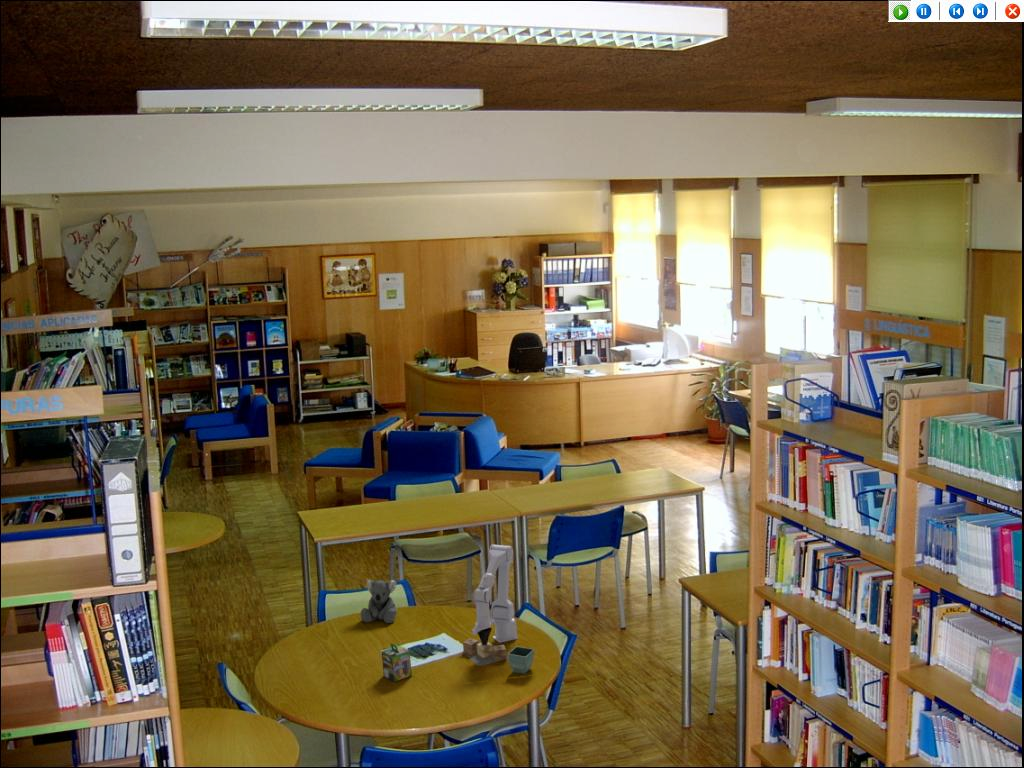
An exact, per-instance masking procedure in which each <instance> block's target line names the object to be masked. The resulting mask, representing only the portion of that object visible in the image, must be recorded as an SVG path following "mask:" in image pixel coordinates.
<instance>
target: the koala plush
mask: <svg viewBox="0 0 1024 768" xmlns="http://www.w3.org/2000/svg"><path fill="white" fill-rule="evenodd" d="M366 587H367V591H369V593H370V598H369V601H368V605H367V607H362V608H361V610H360V620H361V621H362V622H364V623H372V622H373V621H375V620H377V619H379V620H383V622H384V623H386V624H392V623H393V622H394V621H395V620H396V617H397V608H396V604H395V602H394V599H393V598H392V597H391V596H390V594H392V593H394V592H395V590H396V588H397V582H396V581H395V580H393V579H392V580H388V581H384V580H380V579H379V580H376V581H375V580H372V579H369V578H368V579H367V580H366Z"/></svg>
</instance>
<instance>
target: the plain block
mask: <svg viewBox="0 0 1024 768" xmlns="http://www.w3.org/2000/svg"><path fill="white" fill-rule="evenodd" d="M492 645H493V644H492V643H490V642H489V641H488V643H487V645H483V644H482V643H481V642H479V643H478V644H477V655H479V656H481V657H483V658H485V657H488V656H492V655H493V646H492Z"/></svg>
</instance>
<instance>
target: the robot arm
mask: <svg viewBox="0 0 1024 768" xmlns="http://www.w3.org/2000/svg"><path fill="white" fill-rule="evenodd" d="M488 556H489V562H488V566H487V569H486V572H485V573H484V574H483V575H482V576H481V578H480V582H479V584H478V587H477V589H475V590H474V592H473V596H472V599H473V601H474V606H475V609H476V622H475V626H474V628H473V629H471V634H472V635H475V636H476V635H478V637H479V639H480V640H479V641H480V643H482V644H483V645H487V643H488V642H489V639H490V635H491V632H492V627H491V626H492V625H494V629H495V630H494V632H495V635H493V636H491V637H492V638H493V639H494V640H495V641H497V642H498V643H500V644H501V643H503V642H508V641H514V640H518V629H517V622H516V619H515V618H514V616H515V609H514V607H515V606H514V603H513V602H512V601H511V600H510V599H509V588H510V584H509V583H510V569H511V564H513V562H514V549H513V546H511V545H502V544H501V545H500V544H494V543H492V544H491V545H490V547H489V549H488ZM497 571H498V578H497V579H498V580H497V593H496V594H497V595H496V596H497V597H496V598H497V599H496V600H494V601H493V602H492V603H491V608H490V601H491V598H492V592H493V591H492V589H493V586H494V583H495V580H496V579H495V574H496V572H497Z"/></svg>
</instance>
